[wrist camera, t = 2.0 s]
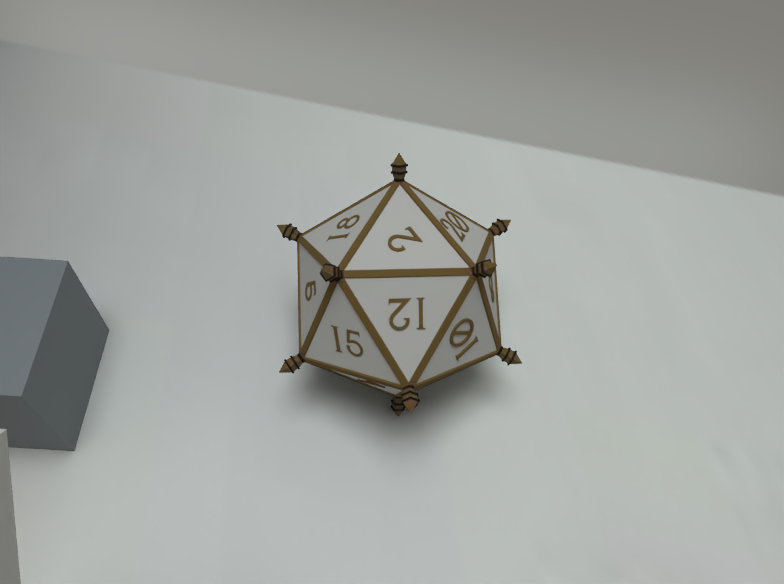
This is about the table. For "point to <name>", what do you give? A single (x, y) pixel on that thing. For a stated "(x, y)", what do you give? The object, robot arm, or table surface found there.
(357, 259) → the game die
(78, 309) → the slate block
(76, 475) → the table surface
